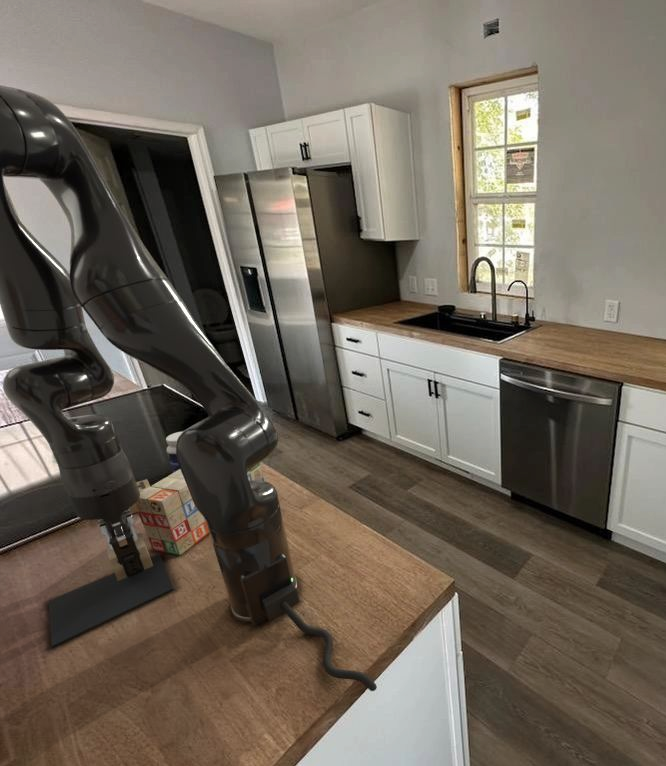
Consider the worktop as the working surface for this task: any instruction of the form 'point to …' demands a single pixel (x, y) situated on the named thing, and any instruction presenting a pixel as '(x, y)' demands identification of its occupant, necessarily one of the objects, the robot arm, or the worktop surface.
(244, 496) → the robot arm
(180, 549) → the stack of blocks
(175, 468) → the pill bottle
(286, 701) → the worktop surface
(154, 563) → the word mat
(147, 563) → the tile
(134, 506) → the tile
